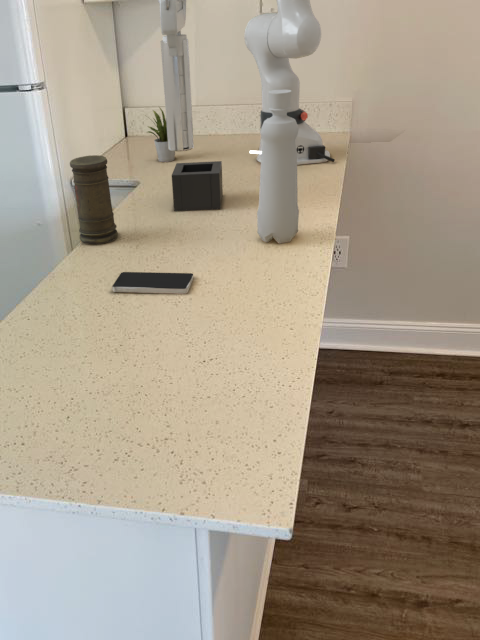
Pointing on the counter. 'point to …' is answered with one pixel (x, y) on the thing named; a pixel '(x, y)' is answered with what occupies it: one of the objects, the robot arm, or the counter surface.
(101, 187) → the container
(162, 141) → the house plant
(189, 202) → the box
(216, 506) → the counter surface
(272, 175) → the bottle
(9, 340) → the counter surface
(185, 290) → the smartphone
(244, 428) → the counter surface
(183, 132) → the silver tall cylinder
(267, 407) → the counter surface
